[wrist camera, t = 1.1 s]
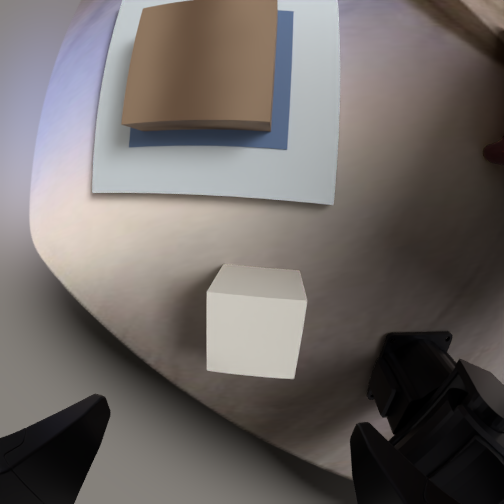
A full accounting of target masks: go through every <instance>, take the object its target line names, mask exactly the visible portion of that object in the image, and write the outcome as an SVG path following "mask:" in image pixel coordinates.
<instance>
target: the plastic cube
mask: <svg viewBox="0 0 504 504" xmlns="http://www.w3.org/2000/svg"><path fill="white" fill-rule="evenodd" d="M306 307H307V297H306V293H305V289H304V285H303V282H302V278H301V274H300V271H299V270H287V269H275V268H264V267H252V266H241V265H230V264H223V266H222V267H221V269H220V271H219V272H218V274H217V276H216V277H215V279H214V281H213V282H212V284H211V286H210V287H209V289H208V290H207V371H214V372H222V373H230V374H238V375H247V376H258V377H270V378H284V379H294V376H295V371H296V366H297V360H298V355H299V349H300V343H301V338H302V332H303V326H304V319H305V313H306Z"/></svg>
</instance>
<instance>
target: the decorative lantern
mask: <svg viewBox="0 0 504 504" xmlns="http://www.w3.org/2000/svg"><path fill="white" fill-rule="evenodd" d="M483 155H484V157H485V159H486V160H488V161H489V162H492V163H496V164H500V165H504V136H503V138H502V139H501V140H500V141H498V142H496V143H493V144H490V145H488V146H486V147H485V148H484V151H483Z"/></svg>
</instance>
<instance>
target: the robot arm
mask: <svg viewBox="0 0 504 504" xmlns="http://www.w3.org/2000/svg"><path fill="white" fill-rule="evenodd" d="M392 338H394V339H393V340H392V341H390V340H391V339H392ZM451 340H452V334H451V333H450V332H448V331H445V332H413V333H390V334H388V335H387V336H386V338H385V341H384V344H383V348H382V351H381V354H380V357H379V358H378V359H377V361H376V364H375V367H374V369H373V372H372V375H371V378H370V381H369V388H368V391H367V397H368V399H371V400H373V399H375V402H376V404H377V407H378V410H379V412H380V415H381V416H382V417H383V418H384V417H387V419H388V422H389V425H390V427H391V430H392V433H393V434H394V436H393V437H392V438H391V439H390V440H389V441H387V440H386V439H385V438H384V437H383V436H382V435H381V434H380V433H379V432H378V431H377V430H376V429H375V428H374V427H373V426H372V425H371V424H370V423H368V422H362V423H357V424H356V426H355V428H354V431H353V433H352V435H351V438H350V448H351V463H352V477H353V483H354V488H355V493H356V499H357V504H504V385H503V384H502V383H501V382H500V381H499V380H498V379H497V378H496V377H495V376H494V375H493V374H492V373H491V372H489V371H486V370H484V369H482V368H480V367H478V366H475V365H473V364H471V363H469V362H466V361H464V360H462V359H459V360H458V362H457V363H456V362H455V361H454V360H453V358H452V357H451V356H450V355H449V354H448V353H447V350H448V348H449V345H450V343H451ZM371 394H372V395H371ZM109 418H110V409H109V406H108V403H107V400H106V398H105V397H104V396H102V395H98V394H93V395H91V396H89V397H87V398H85V399H83V400H82V401H80V402H78V403H76V404H74V405H72V406H70V407H68V408H66V409H64V410H62V411H60V412H58V413H56V414H54V415H52V416H50V417H47V418H45V419H43V420H41V421H39V422H37V423H35V424H33V425H31V426H29V427H27V428H24V429H22V430H20V431H17V432H15V433H13V434H10V435H8V436H5V437H2V438H0V504H74V503H75V500H76V498H77V496H78V493H79V491H80V489H81V487H82V484H83V482H84V480H85V478H86V475H87V473H88V471H89V469H90V467H91V464H92V462H93V460H94V458H95V456H96V454H97V452H98V449H99V447H100V445H101V442H102V439H103V436H104V432H105V430H106V427H107V424H108V421H109Z"/></svg>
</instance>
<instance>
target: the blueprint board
mask: <svg viewBox="0 0 504 504" xmlns="http://www.w3.org/2000/svg"><path fill="white" fill-rule="evenodd" d="M339 115H340V36H339V14H338V0H123V1H122V4H121V7H120V10H119V14H118V17H117V20H116V24H115V27H114V31H113V35H112V39H111V43H110V47H109V51H108V55H107V60H106V65H105V70H104V75H103V80H102V86H101V92H100V99H99V106H98V113H97V122H96V131H95V142H94V156H93V178H92V193H166V194H194V195H215V196H232V197H248V198H261V199H274V200H286V201H297V202H307V203H317V204H327V205H334V195H335V183H336V171H337V156H338V139H339Z"/></svg>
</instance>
